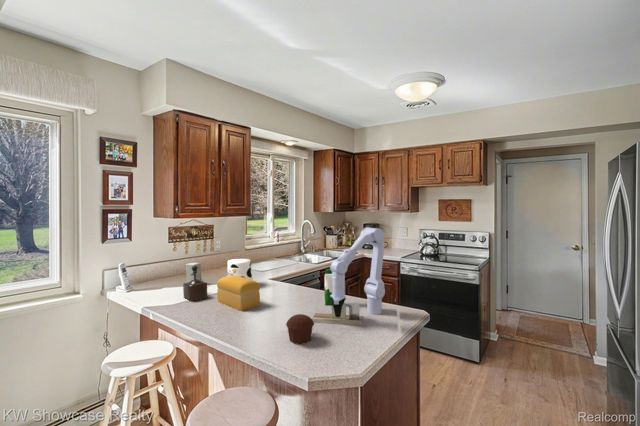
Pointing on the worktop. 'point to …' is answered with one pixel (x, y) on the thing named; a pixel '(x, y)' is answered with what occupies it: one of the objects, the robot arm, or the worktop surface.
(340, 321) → the shelf board
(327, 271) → the milk carton
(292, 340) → the muffin
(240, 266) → the milk container
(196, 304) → the worktop surface
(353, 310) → the metal can
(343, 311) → the tea box
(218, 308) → the worktop surface
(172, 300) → the worktop surface
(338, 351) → the worktop surface
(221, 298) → the bread
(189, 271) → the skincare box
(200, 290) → the pepper mill
